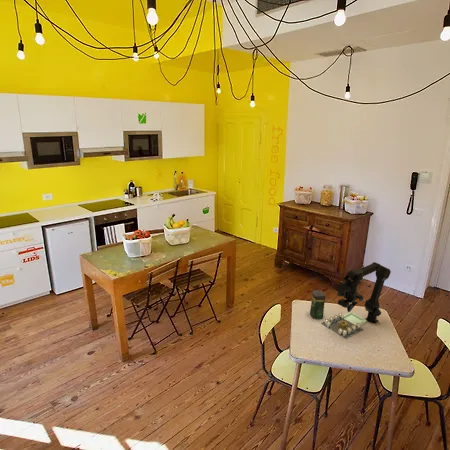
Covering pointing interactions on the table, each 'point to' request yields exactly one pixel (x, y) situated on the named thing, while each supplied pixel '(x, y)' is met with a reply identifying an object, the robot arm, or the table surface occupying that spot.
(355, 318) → the tray
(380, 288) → the robot arm
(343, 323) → the gear
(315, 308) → the coffee jar
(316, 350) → the table surface
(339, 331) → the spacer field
